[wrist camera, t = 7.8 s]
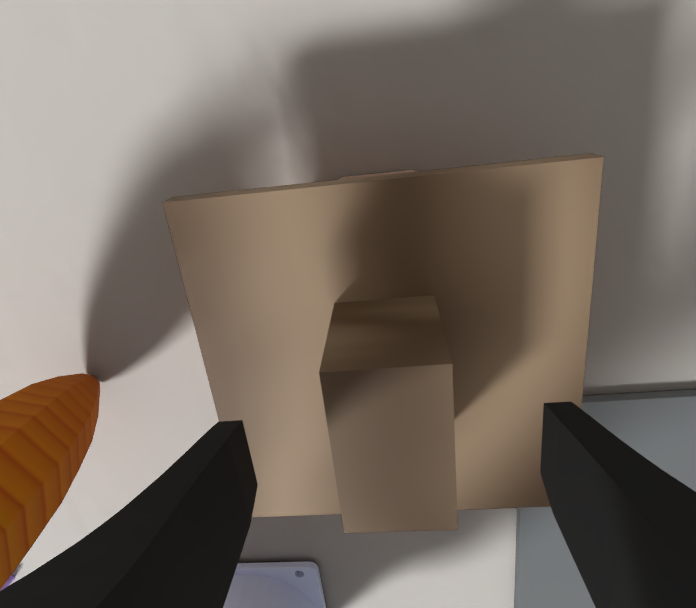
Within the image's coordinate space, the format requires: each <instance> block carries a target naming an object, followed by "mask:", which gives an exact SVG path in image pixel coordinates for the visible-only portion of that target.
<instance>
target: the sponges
mask: <svg viewBox="0 0 696 608" xmlns="http://www.w3.org/2000/svg"><path fill="white" fill-rule="evenodd" d="M14 578H15V576H13V575H12V574H11V576H10V577H9V579H8V580H7V581H6V583H5V584H4V585H3V587H2V588H1V590H3V589H4V588H6V587H8V586H9V584H10V583H11V582H12V581H13V579H14ZM1 590H0V591H1Z"/></svg>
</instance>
